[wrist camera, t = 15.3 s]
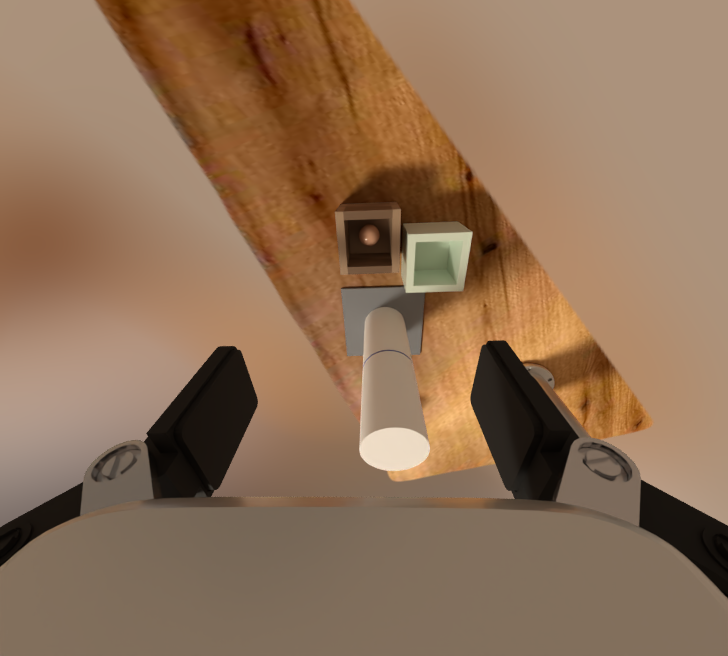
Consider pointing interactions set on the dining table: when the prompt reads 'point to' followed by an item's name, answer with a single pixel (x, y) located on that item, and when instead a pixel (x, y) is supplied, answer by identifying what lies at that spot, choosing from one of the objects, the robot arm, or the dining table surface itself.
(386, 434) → the cylindrical container
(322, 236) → the dining table surface
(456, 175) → the dining table surface
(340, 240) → the walnut cup
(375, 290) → the felt mat
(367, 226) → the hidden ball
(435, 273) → the green cup
